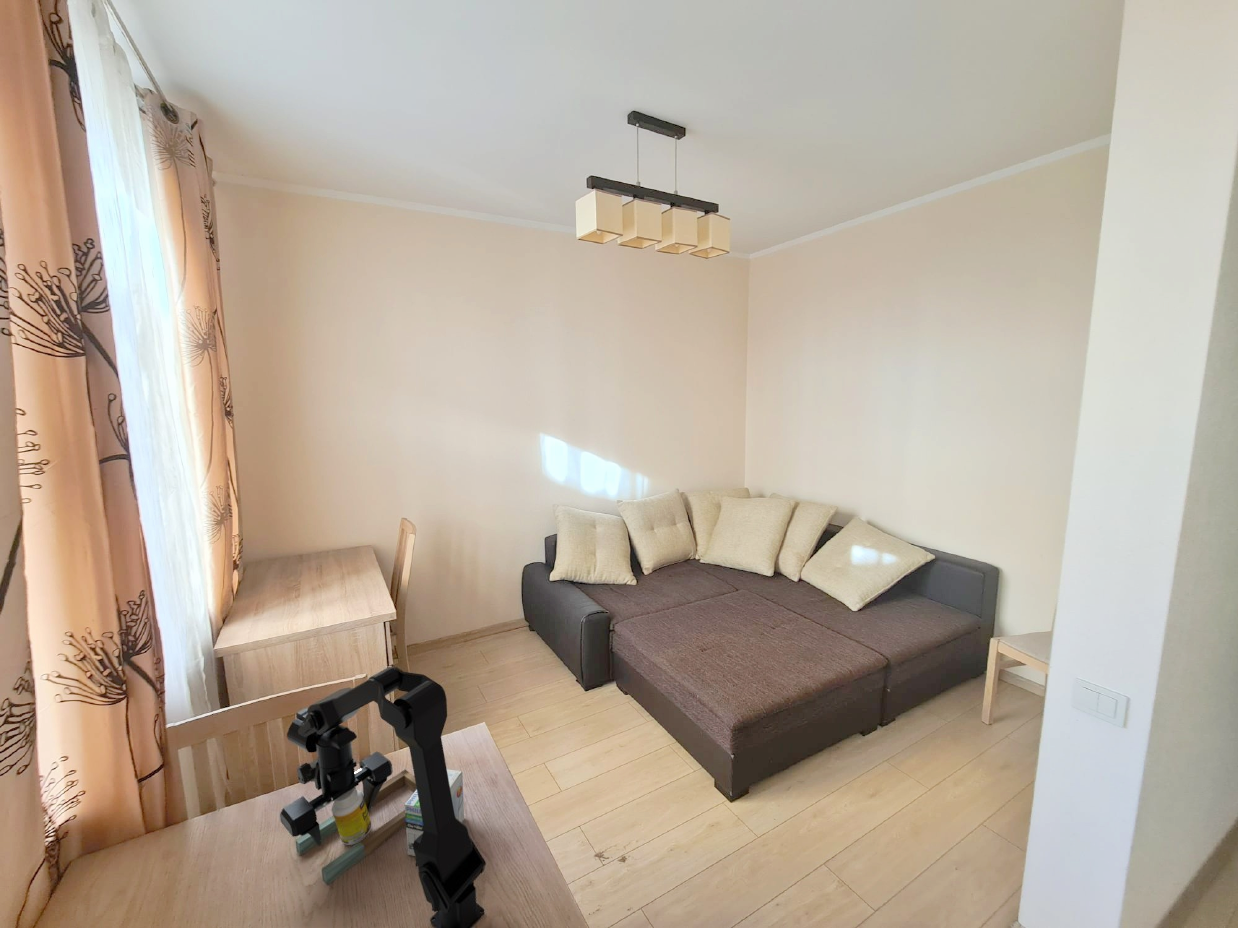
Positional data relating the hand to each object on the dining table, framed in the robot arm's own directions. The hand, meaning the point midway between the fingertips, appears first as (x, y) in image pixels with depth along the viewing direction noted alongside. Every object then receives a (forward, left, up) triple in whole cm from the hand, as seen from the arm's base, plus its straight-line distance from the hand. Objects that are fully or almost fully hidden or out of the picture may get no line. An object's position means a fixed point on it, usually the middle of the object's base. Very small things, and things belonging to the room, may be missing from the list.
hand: (343, 827), depth 101 cm
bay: (0, -5, -3) cm, 6 cm away
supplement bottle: (0, -2, -3) cm, 4 cm away
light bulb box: (-13, -12, -3) cm, 18 cm away
